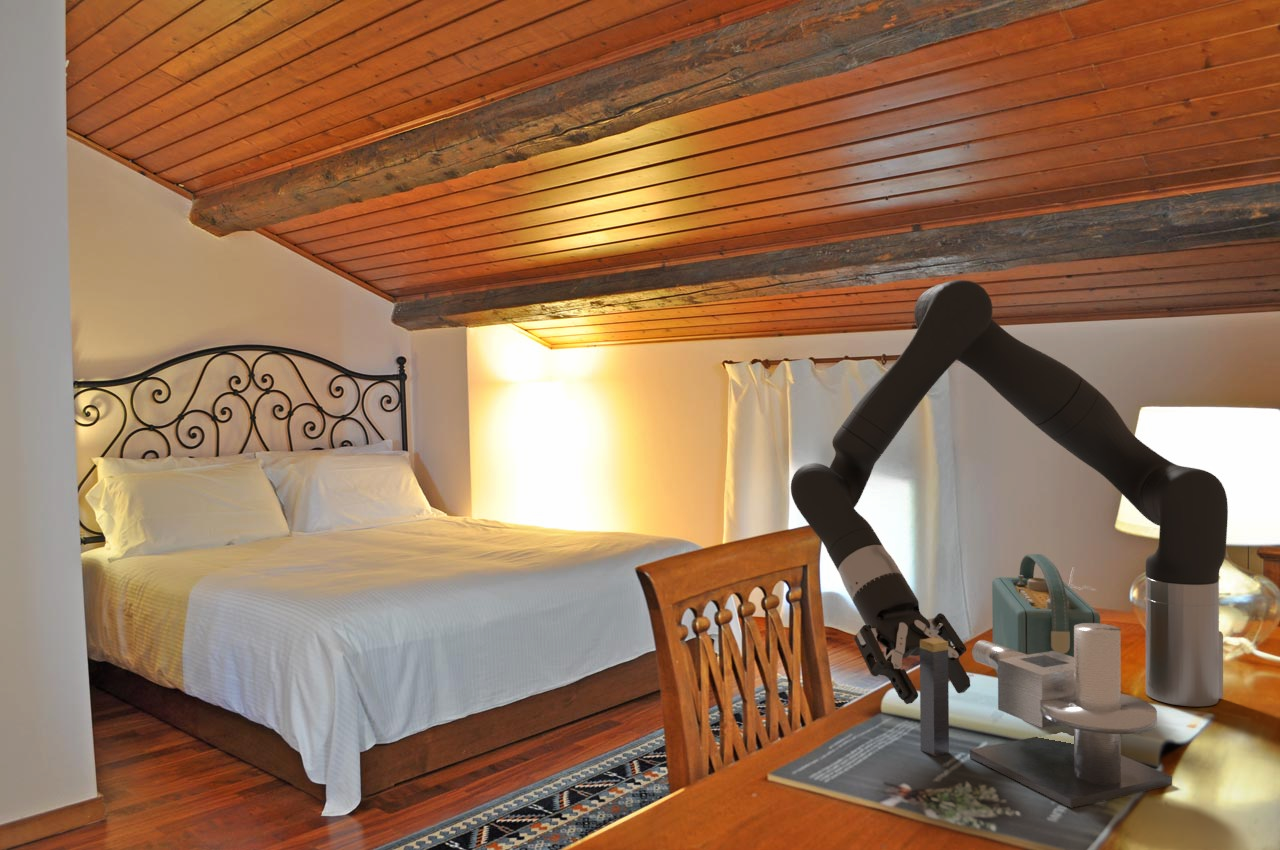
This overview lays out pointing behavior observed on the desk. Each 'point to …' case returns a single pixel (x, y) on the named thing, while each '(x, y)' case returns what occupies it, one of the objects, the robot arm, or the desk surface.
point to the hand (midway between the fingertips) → (939, 695)
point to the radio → (1037, 610)
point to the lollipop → (1077, 586)
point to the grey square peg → (934, 696)
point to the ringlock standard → (1070, 719)
